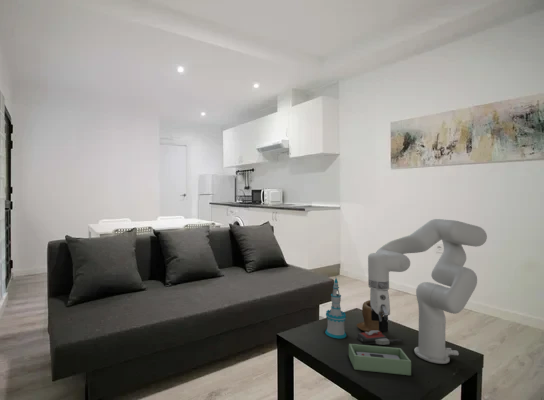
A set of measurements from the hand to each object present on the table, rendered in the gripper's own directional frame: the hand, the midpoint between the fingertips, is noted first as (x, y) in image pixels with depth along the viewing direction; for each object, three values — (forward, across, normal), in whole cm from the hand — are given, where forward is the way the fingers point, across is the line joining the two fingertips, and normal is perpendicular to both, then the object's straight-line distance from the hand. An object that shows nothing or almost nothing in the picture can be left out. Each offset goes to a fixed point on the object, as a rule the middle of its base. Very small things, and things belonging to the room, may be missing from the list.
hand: (379, 325), depth 121 cm
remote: (+16, 0, +1) cm, 16 cm away
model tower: (+16, +25, +13) cm, 33 cm away
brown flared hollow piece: (+17, +33, -7) cm, 38 cm away
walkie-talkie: (+17, +21, -6) cm, 28 cm away
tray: (+16, -1, +1) cm, 16 cm away
